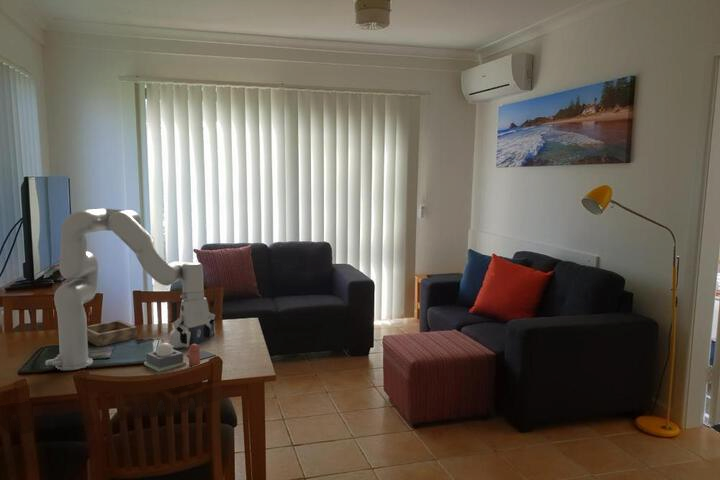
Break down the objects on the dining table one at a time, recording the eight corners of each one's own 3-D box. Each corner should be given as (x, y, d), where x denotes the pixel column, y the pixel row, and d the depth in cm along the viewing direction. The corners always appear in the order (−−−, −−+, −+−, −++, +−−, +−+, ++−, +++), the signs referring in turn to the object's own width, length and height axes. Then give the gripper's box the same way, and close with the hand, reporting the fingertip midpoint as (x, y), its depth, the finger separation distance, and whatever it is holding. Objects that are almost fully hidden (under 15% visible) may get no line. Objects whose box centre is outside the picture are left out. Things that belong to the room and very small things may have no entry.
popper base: (159, 371, 201) (158, 360, 201) (144, 364, 208) (143, 353, 208) (186, 364, 209) (185, 353, 209) (170, 357, 217) (170, 347, 216)
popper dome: (161, 361, 204) (161, 346, 204) (153, 357, 208) (153, 343, 208) (176, 357, 209) (176, 342, 208) (168, 353, 213) (167, 339, 212)
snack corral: (98, 346, 230) (97, 334, 229) (81, 338, 241) (80, 327, 240) (137, 338, 242) (137, 327, 242) (119, 330, 254) (119, 320, 253)
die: (187, 355, 228) (196, 336, 235) (182, 341, 222) (191, 322, 229) (168, 353, 229) (177, 334, 236) (162, 339, 223) (172, 320, 230)
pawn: (192, 368, 205) (192, 346, 204) (187, 365, 208) (186, 344, 207) (202, 365, 208) (201, 343, 207) (196, 363, 211) (195, 341, 210)
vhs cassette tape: (209, 334, 250) (209, 313, 248) (215, 335, 249) (215, 313, 248) (187, 346, 232) (187, 323, 231) (193, 347, 231) (193, 323, 230)
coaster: (198, 360, 214) (198, 359, 214) (186, 356, 219) (186, 355, 219) (215, 355, 220) (215, 354, 220) (204, 351, 225) (204, 350, 225)
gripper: (177, 300, 196) (180, 347, 198) (219, 293, 209) (220, 337, 211) (166, 298, 201) (169, 343, 203) (207, 290, 214) (209, 333, 216)
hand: (195, 340), depth 207 cm, fingers open, 9 cm apart
